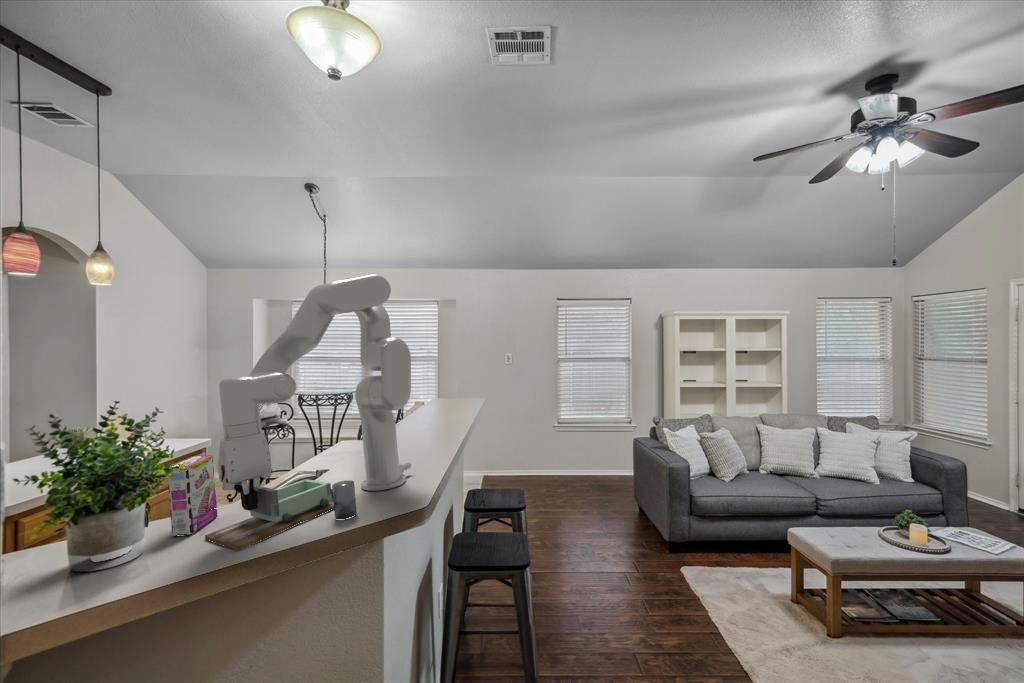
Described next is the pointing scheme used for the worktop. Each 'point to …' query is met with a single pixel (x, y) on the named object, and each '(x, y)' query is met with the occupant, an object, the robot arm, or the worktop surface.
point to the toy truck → (291, 499)
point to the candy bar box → (192, 495)
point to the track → (261, 528)
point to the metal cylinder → (344, 499)
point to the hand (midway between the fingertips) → (250, 508)
